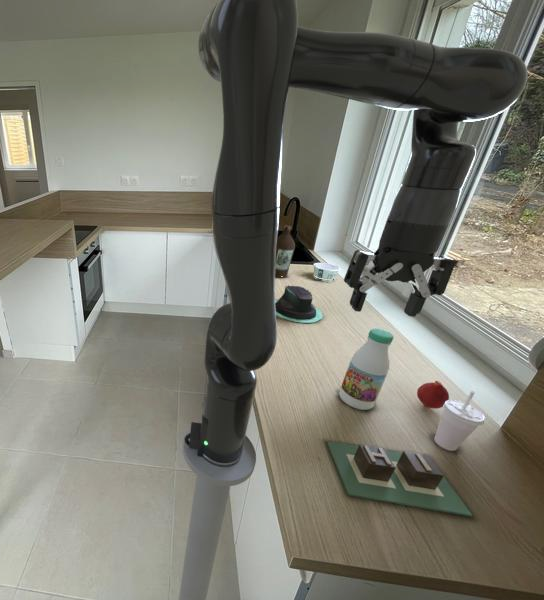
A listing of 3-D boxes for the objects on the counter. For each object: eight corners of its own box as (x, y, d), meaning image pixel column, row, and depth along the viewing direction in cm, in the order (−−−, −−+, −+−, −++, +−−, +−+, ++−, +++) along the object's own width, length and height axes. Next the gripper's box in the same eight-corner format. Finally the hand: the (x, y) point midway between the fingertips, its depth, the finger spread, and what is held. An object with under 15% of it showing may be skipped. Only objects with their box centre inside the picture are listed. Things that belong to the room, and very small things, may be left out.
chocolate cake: (256, 300, 134) (294, 296, 141) (278, 338, 124) (318, 332, 130) (275, 277, 123) (316, 273, 129) (301, 317, 112) (343, 311, 119)
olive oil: (263, 270, 171) (273, 223, 160) (283, 271, 171) (294, 224, 160) (269, 277, 161) (280, 228, 151) (291, 278, 161) (303, 229, 150)
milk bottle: (343, 385, 87) (367, 321, 79) (376, 400, 82) (405, 333, 74) (334, 399, 82) (358, 332, 74) (368, 415, 77) (399, 345, 69)
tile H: (362, 478, 62) (370, 462, 60) (353, 458, 66) (359, 443, 64) (388, 482, 61) (396, 466, 59) (377, 461, 65) (384, 446, 63)
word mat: (348, 495, 59) (349, 493, 59) (326, 442, 70) (327, 440, 69) (471, 517, 56) (472, 514, 56) (428, 458, 67) (430, 456, 67)
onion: (434, 401, 82) (447, 376, 79) (446, 417, 77) (461, 392, 74) (408, 396, 84) (420, 372, 81) (418, 412, 79) (431, 386, 76)
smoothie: (454, 436, 72) (484, 387, 66) (471, 459, 67) (505, 408, 61) (421, 429, 74) (447, 380, 68) (434, 451, 68) (464, 400, 63)
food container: (318, 272, 171) (321, 261, 168) (341, 280, 162) (345, 267, 159) (305, 277, 165) (308, 264, 162) (328, 284, 156) (332, 271, 153)
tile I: (408, 485, 60) (417, 470, 59) (396, 464, 65) (403, 449, 63) (435, 490, 60) (445, 474, 58) (420, 468, 64) (429, 453, 62)
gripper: (453, 216, 51) (414, 307, 58) (357, 211, 54) (330, 299, 60) (490, 226, 45) (441, 327, 52) (379, 220, 47) (346, 317, 54)
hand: (381, 312), depth 56 cm, fingers open, 8 cm apart
